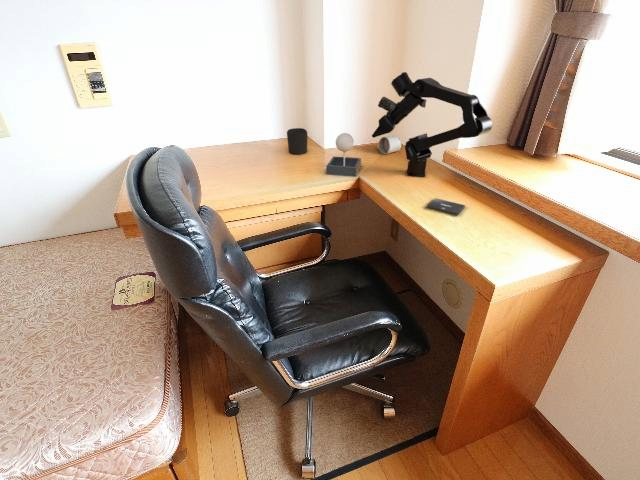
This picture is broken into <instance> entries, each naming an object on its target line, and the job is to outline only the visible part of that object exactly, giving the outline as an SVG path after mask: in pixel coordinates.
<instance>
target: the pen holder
mask: <svg viewBox="0 0 640 480" xmlns="http://www.w3.org/2000/svg"><path fill="white" fill-rule="evenodd" d="M286 136H287V137H286V138H287V147H288V153H289V154H290V155H296V156H299V155H304V154H306V153H307V152H308V131H307V130H306V129H305V128H303V127H294V128H290V129H288V130H287V131H286Z"/></svg>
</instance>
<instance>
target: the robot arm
mask: <svg viewBox="0 0 640 480" xmlns="http://www.w3.org/2000/svg"><path fill="white" fill-rule="evenodd" d="M390 83H391V84H390V85H391V86H392V88H393V89H394V91H395V92H396V94H397V95H398V97H399V98H401V97H402V99H401V100H400V101H398V102H395V101H393V100H392V99H390V98H388V97H387V96H382V97H381V98H380V100H379V101H378V104H377V107H378V108H381V109H383V110H384V111H386V114H384V115H383V116H381V117H380V118H379V119H378V126H377V128H376V129H375V130H374V132H373V133H372V134H371V137H372V138H373V139H374V138H377V137H380V136H383V135H387V134H390V133H391V132H393V131H394V130H395V128H396V126H397V125H399V124H400V123H401V122H402V121H403V120H404V119H405V118H406V117H408V116H409V115H410V114H411V113H412V112H413V111H414V110H415V109H417V107H418V106H420V107H421V108H425V109H426V105H427V99H428V98H429V99H436V100H439V101H442V102H444V103H447V104H451V105H454V106H456V107H459V108H461V111H462V121H463V123H461V124H460V125H459V126H457V127H455V128H452V129H450V130H446V131H444V132H443V131H442V132H440V133H437V134H434V135H431V136H428V132H426V133H423V134H419V135H416V136H413V137H410V138H408V140H407V141H405V145H404V150H405V155H406V160H407V168H406V173H407V176H409V177H419V178H420V177H422V178H425V177H426V168H427V161H428V159H429V158H431V156H432V155H433V152H432V151H431V148H432V147H434V146H438V145H441V144H444V143H448V142H451V141H454V140H458V139H468V138H469V139H470V138H476V137H479V136H480V137H481V136H483V135H485V134H488V133H490V132H491V131H492V129H493V120H492V118H491V117H490V116H489V114H488V111H487V110H486V109H485V107H484V106H483V105H482V104H481V101H480V100H479V97H478V96H477V95H476V94H470V93H467V92H463V91H461V90H457V89H453V88H451V87H447V86H444V85H442V84H441V83H440V82H439V81H438V80H436V79H434V78H433V77H424V78H418V79H416V80H415V81H414V82H413V81H412V79H411V78H410V76H409V73H407V71H404V72H402V71H401V74H398V75H397V76H396V77H395V78H394V79H392V81H391V82H390ZM425 98H427V99H425Z"/></svg>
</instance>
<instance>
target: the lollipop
mask: <svg viewBox="0 0 640 480" xmlns="http://www.w3.org/2000/svg"><path fill="white" fill-rule="evenodd" d="M354 143H355V142H354V138H353V136H352V135H351V134H350V133H348V132H343V133H340V134H339V135H338V136H337V137H336V139H335V146H336V149H337V150H339V151H340V152H342V153H343V157H344V158H343V166H345V157H346V152H349V151H351V149H352V148H353V147H354Z"/></svg>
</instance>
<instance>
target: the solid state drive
mask: <svg viewBox="0 0 640 480" xmlns="http://www.w3.org/2000/svg"><path fill="white" fill-rule="evenodd" d="M465 207H466V204H461V203H458V202H453V201H449V200H445V199H441V198H436V197H435V198H434V199H433V200H431V201H430V202H429V203H428V205H427V208H428V209H432V210H437V211H440V212H443V213H448V214H452V215H455V216H459V215H460V214H461V212H463V210H464V209H465Z"/></svg>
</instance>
